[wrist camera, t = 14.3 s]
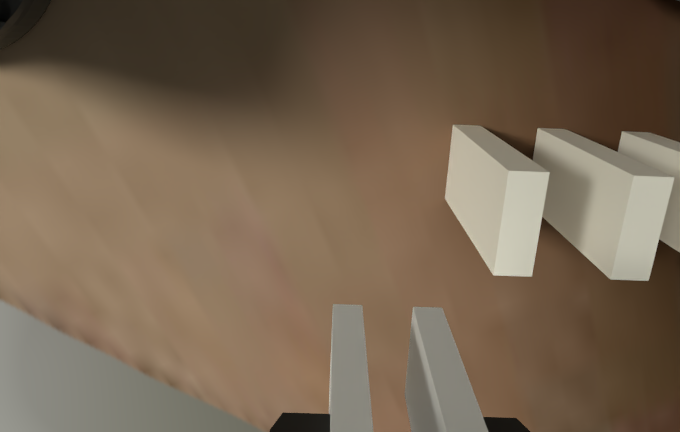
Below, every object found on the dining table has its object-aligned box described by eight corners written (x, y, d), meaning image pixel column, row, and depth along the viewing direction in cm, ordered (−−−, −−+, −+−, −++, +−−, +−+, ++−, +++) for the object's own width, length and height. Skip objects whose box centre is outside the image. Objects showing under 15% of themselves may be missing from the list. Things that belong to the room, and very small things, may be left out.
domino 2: (525, 201, 37) (610, 279, 25) (537, 127, 35) (633, 175, 24) (553, 202, 37) (649, 280, 25) (566, 129, 35) (675, 177, 24)
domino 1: (444, 198, 36) (493, 275, 25) (452, 124, 35) (508, 170, 23) (472, 199, 36) (532, 276, 25) (481, 125, 35) (550, 172, 24)
